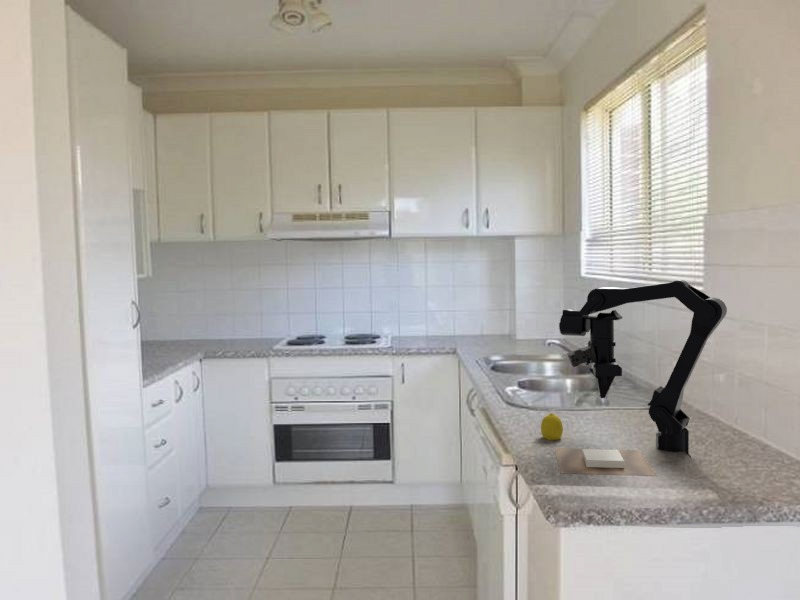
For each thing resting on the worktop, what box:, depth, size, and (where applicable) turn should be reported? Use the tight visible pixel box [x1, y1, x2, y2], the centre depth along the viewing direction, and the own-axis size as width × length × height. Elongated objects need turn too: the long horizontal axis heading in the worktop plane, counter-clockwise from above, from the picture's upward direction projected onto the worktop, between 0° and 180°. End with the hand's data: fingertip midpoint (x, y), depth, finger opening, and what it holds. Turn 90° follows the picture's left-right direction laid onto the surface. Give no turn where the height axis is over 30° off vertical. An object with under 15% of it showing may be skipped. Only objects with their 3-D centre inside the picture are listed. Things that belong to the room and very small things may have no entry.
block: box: [581, 448, 624, 468], centre depth 144 cm, size 8×2×8 cm
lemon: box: [540, 412, 564, 441], centre depth 164 cm, size 6×6×8 cm
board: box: [554, 447, 658, 477], centre depth 145 cm, size 20×18×2 cm
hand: (602, 397), depth 162 cm, fingers closed
